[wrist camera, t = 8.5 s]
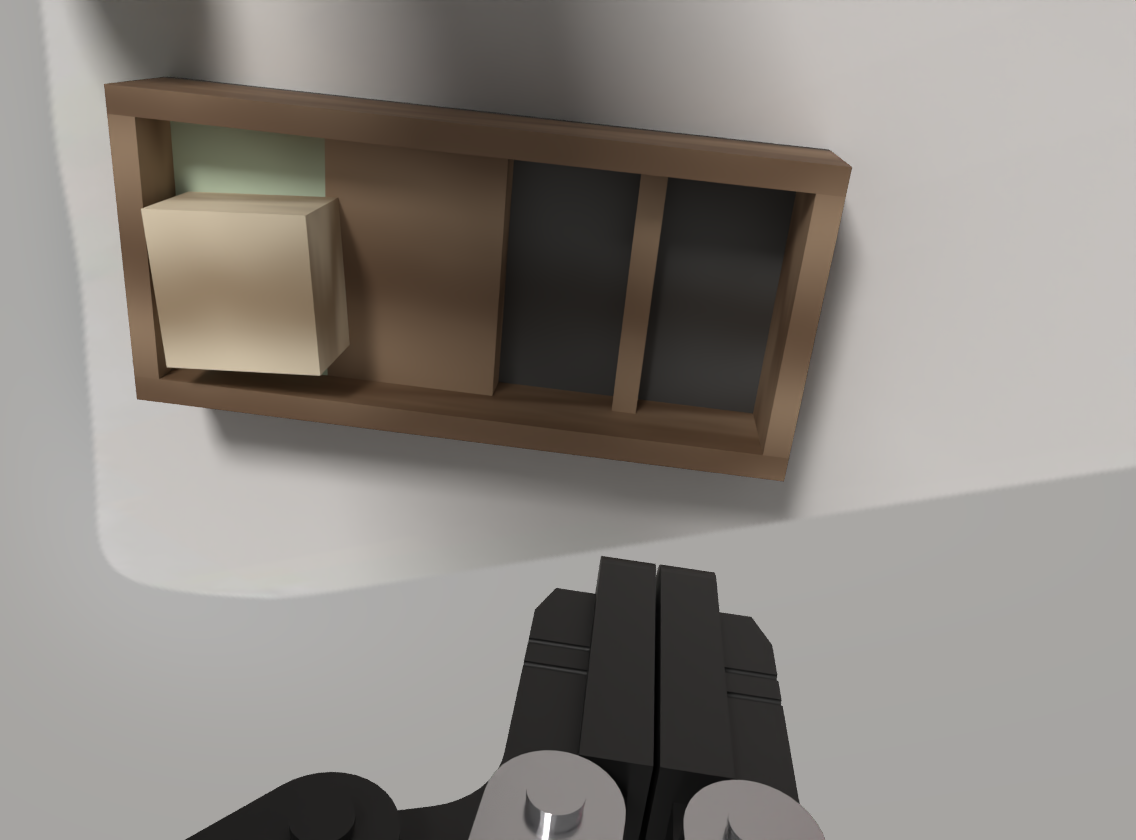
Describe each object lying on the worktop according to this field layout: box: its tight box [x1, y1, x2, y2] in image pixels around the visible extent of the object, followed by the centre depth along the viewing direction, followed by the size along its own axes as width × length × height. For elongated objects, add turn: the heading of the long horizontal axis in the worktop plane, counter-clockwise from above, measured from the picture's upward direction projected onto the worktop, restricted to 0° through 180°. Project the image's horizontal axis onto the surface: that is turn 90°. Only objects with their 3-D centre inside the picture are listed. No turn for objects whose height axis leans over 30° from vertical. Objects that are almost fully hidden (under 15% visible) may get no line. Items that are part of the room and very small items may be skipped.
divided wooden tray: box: [104, 77, 852, 481], centre depth 36 cm, size 12×26×4 cm, turn 84°
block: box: [141, 191, 350, 376], centre depth 35 cm, size 6×6×4 cm
